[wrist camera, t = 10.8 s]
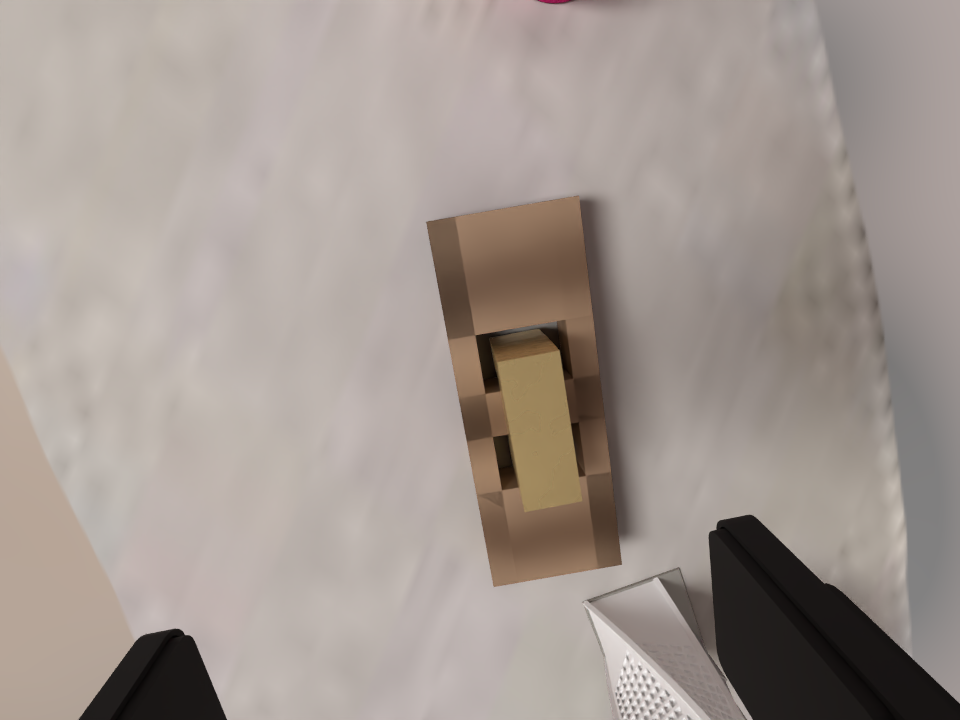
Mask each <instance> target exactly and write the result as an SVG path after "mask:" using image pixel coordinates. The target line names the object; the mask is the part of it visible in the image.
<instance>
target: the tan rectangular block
mask: <svg viewBox="0 0 960 720" xmlns="http://www.w3.org/2000/svg"><path fill="white" fill-rule="evenodd" d="M489 339H490V345H491V350H492V356H493V361H494V366H495V370H496V373H497V377H498V382H499V387H500V393H501V398H502V404H503V409H504V414H505V420H506V425H507V431H508V434H507V437H508V443H509V448H510V453H511V458H512V463H513V467H514V471H515V475H516V479H517V483H518V487H519V491H520V496H521V500H522V504H523V508H524V512H528V511H534V510H539V509H544V508H550V507H555V506H560V505H565V504H571V503H576V502H581V501H582V495H581V488H580V482H579V475H578V468H577V462H576V455H575V449H574V442H573V436H572V429H571V422H570V416H569V409H568V403H567V396H566V390H565V383H564V376H563V370H562V363H561V357H560V350H559V349H558V348H557V347H556V346H555V345H554V344H553V343H552V342H551V340H550V339H549V338H548V337H547V336H546V335H544V334H543V333H542V332H541V331H540V330H539V329H534V330H529V331H523V332H518V333H513V334H508V335H502V336H497V337H492V338H489Z"/></svg>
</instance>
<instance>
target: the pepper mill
mask: <svg viewBox="0 0 960 720" xmlns="http://www.w3.org/2000/svg"><path fill="white" fill-rule="evenodd" d="M538 1H541V2H546V3H561V2H567V1H570V0H538Z"/></svg>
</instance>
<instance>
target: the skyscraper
mask: <svg viewBox="0 0 960 720" xmlns="http://www.w3.org/2000/svg"><path fill="white" fill-rule="evenodd" d="M583 604H584V607H585V610H586V612H587V615H588V617H589V620H590V622H591V625H592V627H593V630H594V633H595V635H596V638H597V640H598V643H599V645H600V648H601V651H602V653H603V657H604V664H605V672H606V679H607V686H608V692H609V698H610V703H611V709H612V714H613V718H614V720H747V719H746V718H745V716H744V715H743V713H742V712H741V710H740V709H739V707H738V706H737V704H736V703H735V701H734V699H733V697H732V695H731V693H730V691H729V688H728V686H727V684H726V680H727V679H726V678H725V676H724V675H723V673H722V672H721V671H720V669H719V668H718V666H717V665H716V664H715V662H714V661H713V659H712V658H711V657H710V655H709V654H708V652H707V650H706V648H705V645H704V642H703V639H702V636H701V633H700V630H699V627H698V624H697V621H696V618H695V615H694V612H693V609H692V606H691V603H690V600H689V597H688V594H687V591H686V588H685V585H684V582H683V579H682V576H681V573H680V570H679V568H676V569H673V570H670V571H667V572H665V573H662V574H659V575H656V576H653V577H651V578H648V579H645V580H642V581H639V582H637V583H634V584H631V585H628V586H625V587H623V588H620V589H617V590H614V591H611V592H609V593H606V594H603V595H600V596H598V597H595V598H592V599H589V600H586V601H584V602H583Z"/></svg>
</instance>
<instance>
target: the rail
mask: <svg viewBox="0 0 960 720" xmlns="http://www.w3.org/2000/svg"><path fill="white" fill-rule="evenodd" d="M426 223H427V229H428V234H429V239H430V245H431V250H432V256H433V261H434V266H435V272H436V277H437V283H438V288H439V293H440V299H441V304H442V310H443V315H444V320H445V326H446V331H447V337H448V342H449V348H450V353H451V358H452V364H453V369H454V375H455V380H456V385H457V391H458V396H459V402H460V407H461V412H462V418H463V423H464V429H465V434H466V439H467V445H468V450H469V456H470V461H471V467H472V472H473V477H474V483H475V488H476V494H477V499H478V504H479V510H480V515H481V521H482V526H483V531H484V537H485V542H486V548H487V553H488V558H489V564H490V569H491V575H492V580H493V586H494V587H496V586H502V585H507V584H513V583H519V582H525V581H530V580H536V579H542V578H548V577H553V576H559V575H565V574H571V573H576V572H582V571H588V570H594V569H599V568H605V567H611V566H617V565H622V561H621V553H620V544H619V536H618V527H617V518H616V510H615V501H614V493H613V484H612V476H611V467H610V458H609V450H608V441H607V433H606V424H605V415H604V407H603V398H602V390H601V381H600V372H599V364H598V355H597V347H596V338H595V330H594V321H593V312H592V304H591V295H590V287H589V278H588V269H587V261H586V252H585V244H584V235H583V227H582V218H581V209H580V201H579V196H574V197H568V198H562V199H556V200H551V201H545V202H539V203H533V204H527V205H521V206H516V207H510V208H504V209H498V210H492V211H486V212H481V213H475V214H469V215H463V216H457V217H452V218H446V219H440V220H434V221H428V222H426ZM555 321H557V326H558V334H559V341H560V349H561V356H562V364H563V366H562V370H563V376H564V383H565V390H566V396H567V403H568V409H569V416H570V422H571V429H572V436H573V442H574V449H575V455H576V462H577V468H578V475H579V482H580V488H581V495H582V501H581V502H576V503H571V504H565V505H560V506H555V507H550V508H544V509H539V510H534V511H528V512H524V508H523V504H522V500H521V496H520V491H519V487H518V483H517V479H516V475H515V471H514V467H513V466H509V467H503V468H498V465H497V459H496V453H495V447H494V441H493V437H496V436H501V435H507V434H508V431H507V425H506V420H505V414H504V409H503V404H502V398H501V393H500V387H499V382H498V377H496V378H490V379H484V380H483V377H482V372H481V366H480V360H479V354H478V348H477V343H476V337H475V335H479V334H485V333H491V332H497V331H503V330H508V329H514V328H520V327H526V326H532V325H537V324H543V323H549V322H555Z"/></svg>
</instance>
